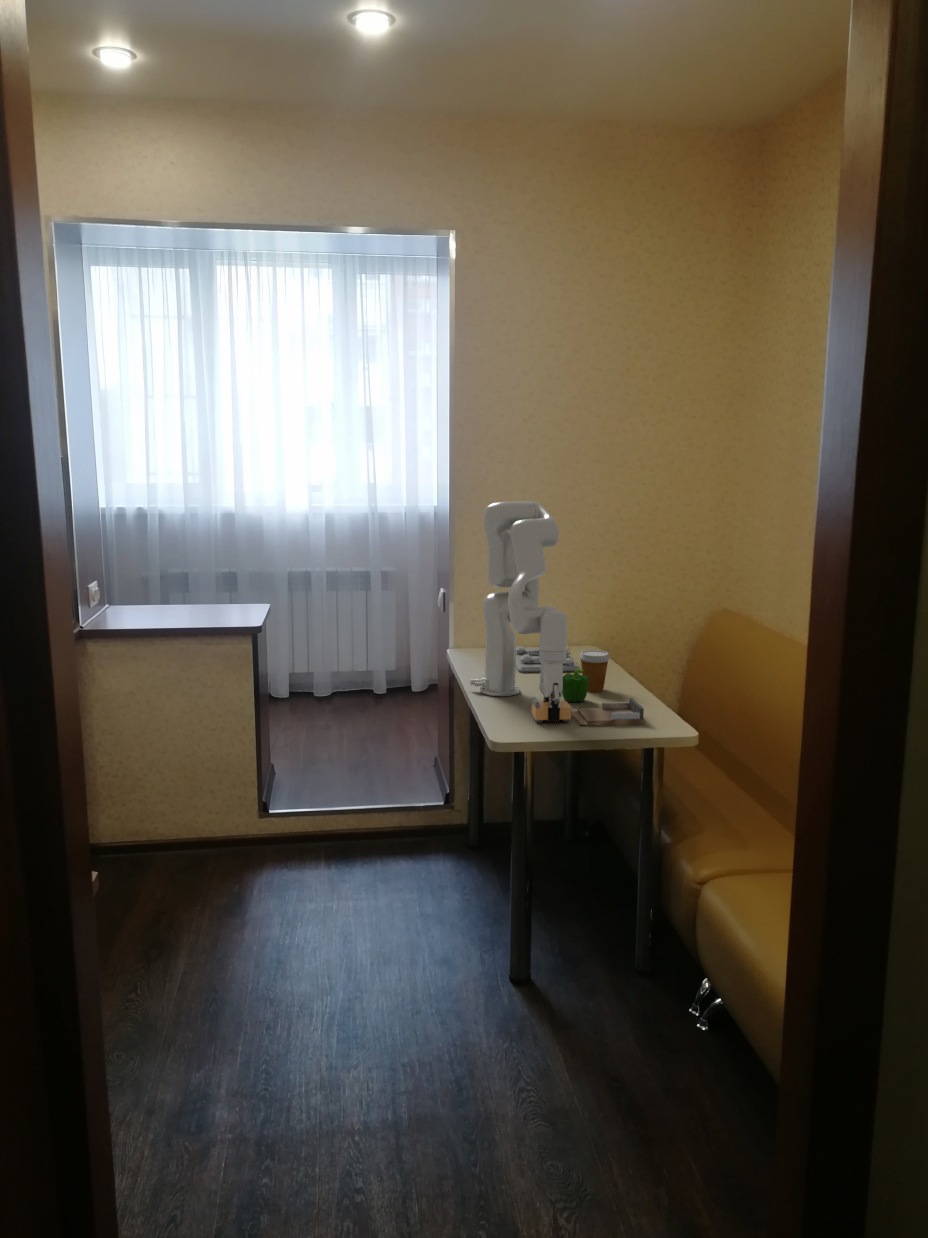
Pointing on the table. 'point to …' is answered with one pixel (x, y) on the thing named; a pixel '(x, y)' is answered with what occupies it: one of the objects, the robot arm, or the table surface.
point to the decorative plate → (530, 661)
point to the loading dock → (611, 714)
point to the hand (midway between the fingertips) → (551, 716)
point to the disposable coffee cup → (594, 668)
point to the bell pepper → (575, 686)
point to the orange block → (542, 710)
